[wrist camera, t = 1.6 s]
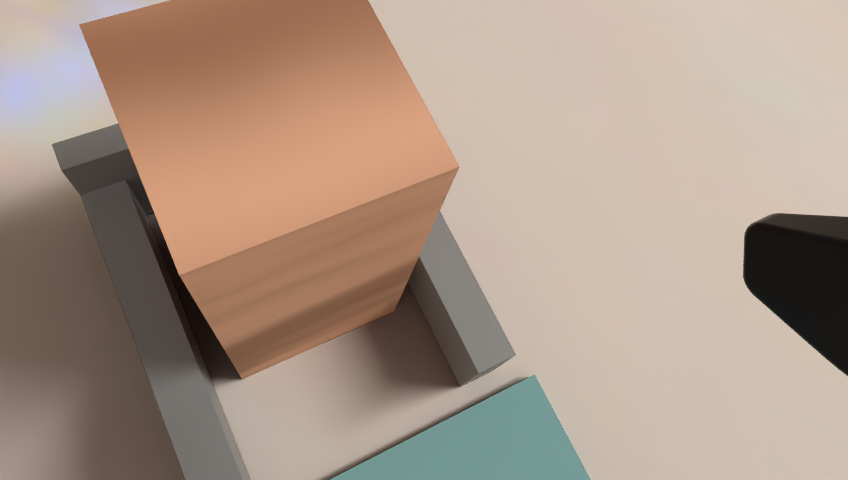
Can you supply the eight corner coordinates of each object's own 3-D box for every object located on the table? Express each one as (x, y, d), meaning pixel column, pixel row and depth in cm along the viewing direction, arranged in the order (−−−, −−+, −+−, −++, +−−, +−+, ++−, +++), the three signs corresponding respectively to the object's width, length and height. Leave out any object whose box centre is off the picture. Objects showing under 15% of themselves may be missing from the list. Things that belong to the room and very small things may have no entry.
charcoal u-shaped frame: (493, 370, 21) (532, 343, 17) (212, 510, 18) (186, 514, 14) (361, 116, 23) (371, 44, 20) (98, 207, 21) (52, 144, 17)
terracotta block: (394, 311, 21) (459, 166, 12) (242, 379, 19) (179, 274, 10) (330, 179, 22) (342, -46, 13) (182, 233, 21) (78, 23, 12)
